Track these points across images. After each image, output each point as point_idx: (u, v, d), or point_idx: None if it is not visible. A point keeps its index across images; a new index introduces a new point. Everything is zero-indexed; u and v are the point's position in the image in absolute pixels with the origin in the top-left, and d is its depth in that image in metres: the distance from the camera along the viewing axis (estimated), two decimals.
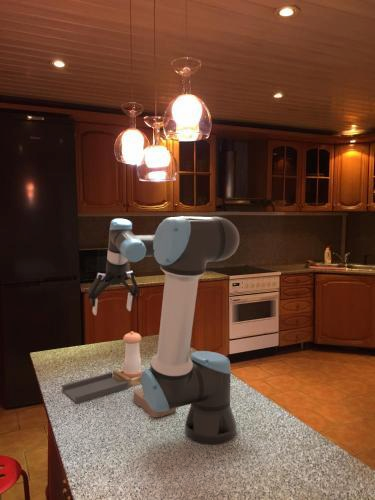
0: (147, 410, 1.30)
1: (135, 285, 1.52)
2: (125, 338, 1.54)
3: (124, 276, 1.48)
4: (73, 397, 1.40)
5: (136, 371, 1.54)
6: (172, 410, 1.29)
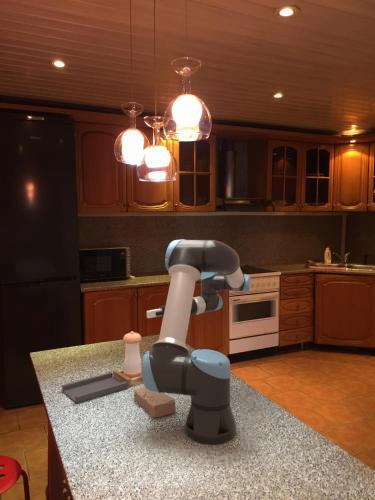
0: (147, 410, 1.30)
1: None
2: (125, 338, 1.54)
3: None
4: (73, 397, 1.40)
5: (136, 371, 1.54)
6: (172, 410, 1.29)
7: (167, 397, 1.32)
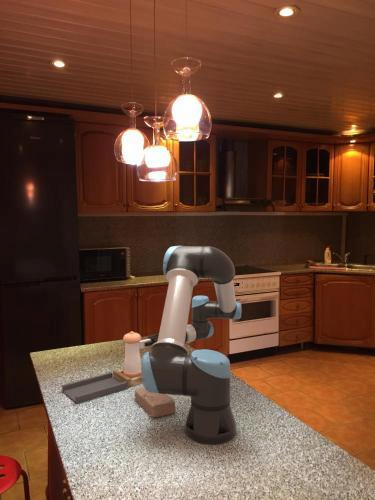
0: (146, 410, 1.30)
1: None
2: (125, 338, 1.54)
3: None
4: (73, 397, 1.40)
5: (136, 371, 1.54)
6: (171, 410, 1.29)
7: (167, 397, 1.32)
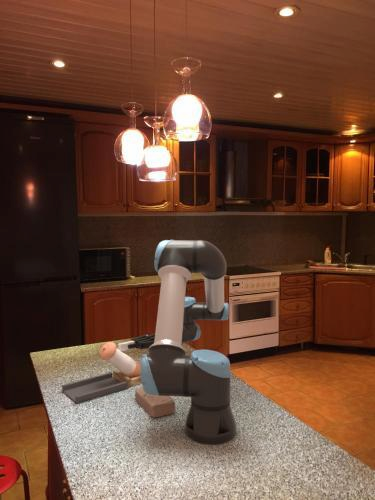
0: (146, 409, 1.30)
1: (149, 341, 1.57)
2: (102, 357, 1.47)
3: None
4: (73, 397, 1.40)
5: (132, 369, 1.53)
6: (171, 410, 1.29)
7: (167, 397, 1.32)
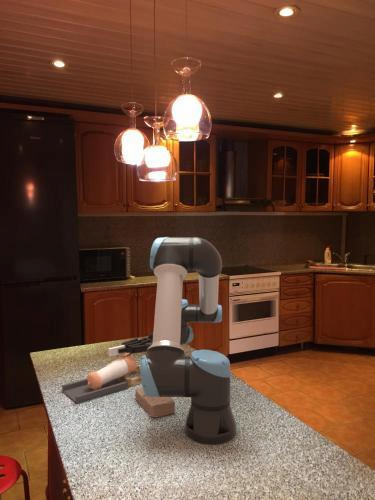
0: (146, 409, 1.30)
1: (140, 345, 1.54)
2: None
3: (152, 342, 1.59)
4: (73, 397, 1.40)
5: (127, 369, 1.51)
6: (171, 411, 1.29)
7: (167, 397, 1.32)
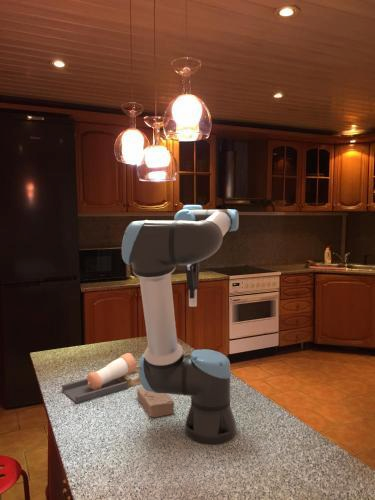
0: (146, 409, 1.30)
1: (198, 276, 1.57)
2: None
3: None
4: (73, 397, 1.40)
5: (127, 369, 1.51)
6: (170, 411, 1.28)
7: (167, 397, 1.32)
